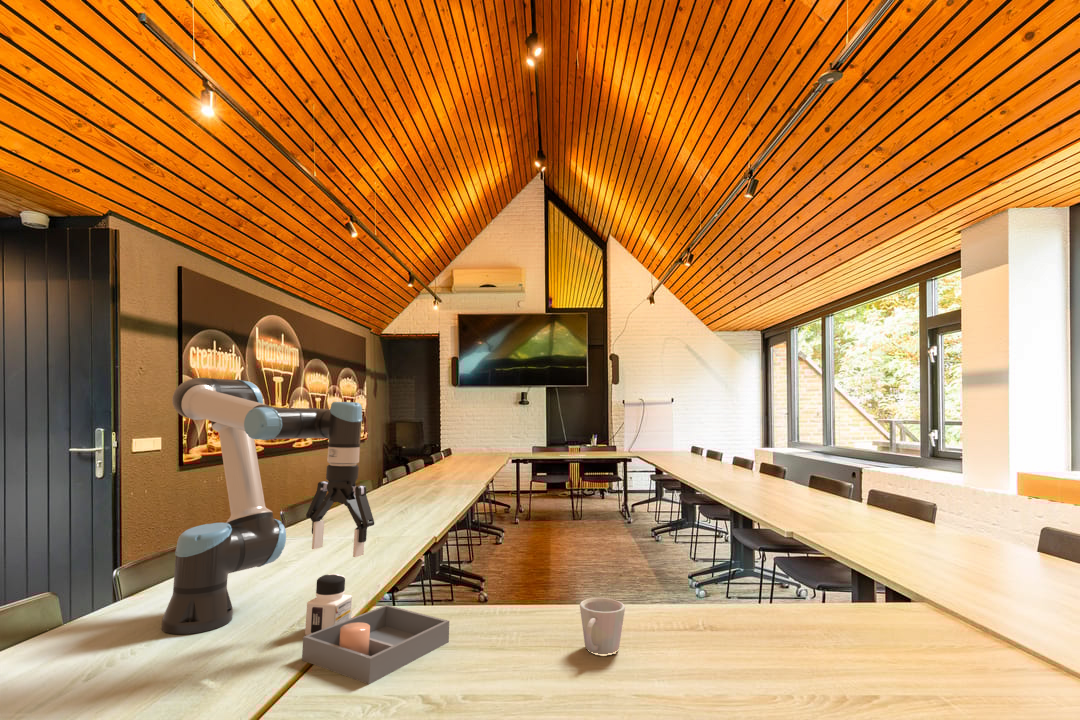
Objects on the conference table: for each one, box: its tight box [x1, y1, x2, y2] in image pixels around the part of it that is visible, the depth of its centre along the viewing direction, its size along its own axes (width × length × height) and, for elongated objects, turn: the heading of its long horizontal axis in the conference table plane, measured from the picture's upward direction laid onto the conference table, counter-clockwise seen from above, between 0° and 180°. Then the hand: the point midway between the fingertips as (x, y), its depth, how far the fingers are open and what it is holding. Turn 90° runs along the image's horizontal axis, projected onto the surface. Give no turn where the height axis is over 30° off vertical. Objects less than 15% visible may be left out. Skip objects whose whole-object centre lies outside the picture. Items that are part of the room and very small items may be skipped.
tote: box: [301, 604, 450, 685], centre depth 124 cm, size 20×24×6 cm
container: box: [304, 573, 353, 636], centre depth 137 cm, size 8×8×13 cm
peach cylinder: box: [339, 622, 370, 656], centre depth 118 cm, size 6×6×7 cm
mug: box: [579, 597, 626, 654], centre depth 127 cm, size 10×15×10 cm
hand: (337, 552), depth 137 cm, fingers open, 13 cm apart
